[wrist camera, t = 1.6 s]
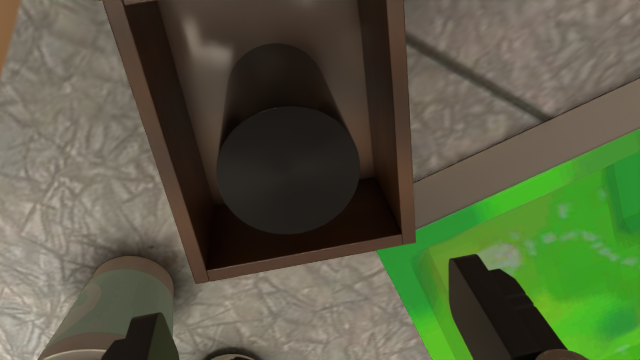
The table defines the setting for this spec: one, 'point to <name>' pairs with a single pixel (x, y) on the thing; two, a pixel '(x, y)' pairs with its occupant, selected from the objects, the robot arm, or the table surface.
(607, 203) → the tray
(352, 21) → the chest
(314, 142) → the black cylinder
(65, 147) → the table surface
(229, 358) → the beverage can
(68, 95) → the table surface
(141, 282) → the coffee cup
